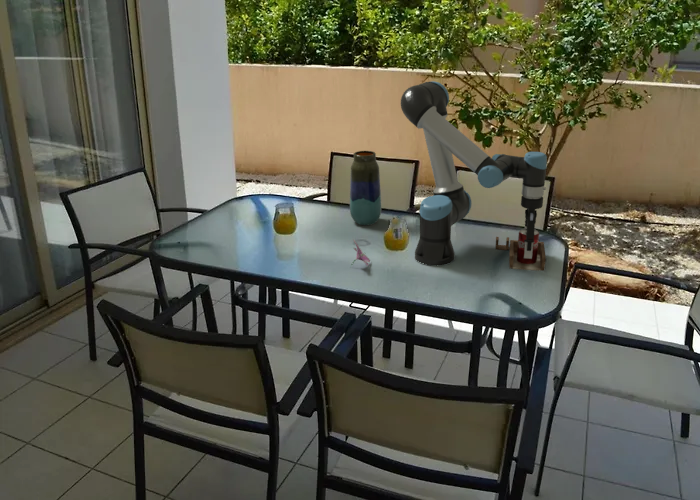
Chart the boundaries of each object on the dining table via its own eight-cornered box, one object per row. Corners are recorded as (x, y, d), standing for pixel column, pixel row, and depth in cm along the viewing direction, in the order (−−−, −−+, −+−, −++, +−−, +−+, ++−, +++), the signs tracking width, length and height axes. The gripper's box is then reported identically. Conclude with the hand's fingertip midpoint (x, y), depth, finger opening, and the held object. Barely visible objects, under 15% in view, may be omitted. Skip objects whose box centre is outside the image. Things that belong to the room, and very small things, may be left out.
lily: (361, 279, 227) (373, 256, 225) (334, 262, 231) (346, 239, 228) (371, 275, 239) (383, 254, 236) (346, 259, 242) (358, 238, 239)
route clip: (495, 249, 246) (496, 240, 245) (495, 246, 250) (496, 236, 248) (508, 250, 245) (509, 240, 244) (508, 246, 248) (509, 237, 247)
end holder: (509, 268, 230) (510, 255, 228) (509, 252, 243) (510, 239, 241) (544, 271, 227) (545, 257, 225) (542, 254, 241) (543, 242, 239)
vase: (382, 227, 272) (381, 156, 259) (350, 228, 272) (348, 157, 260) (381, 216, 284) (380, 148, 272) (350, 217, 285) (348, 149, 273)
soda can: (537, 266, 230) (540, 235, 225) (516, 265, 231) (519, 234, 226) (535, 258, 236) (538, 228, 231) (516, 257, 238) (518, 227, 233)
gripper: (545, 207, 211) (539, 265, 220) (541, 185, 234) (536, 238, 242) (522, 206, 213) (517, 263, 221) (521, 185, 235) (516, 237, 244)
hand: (527, 250), depth 232 cm, fingers open, 13 cm apart
